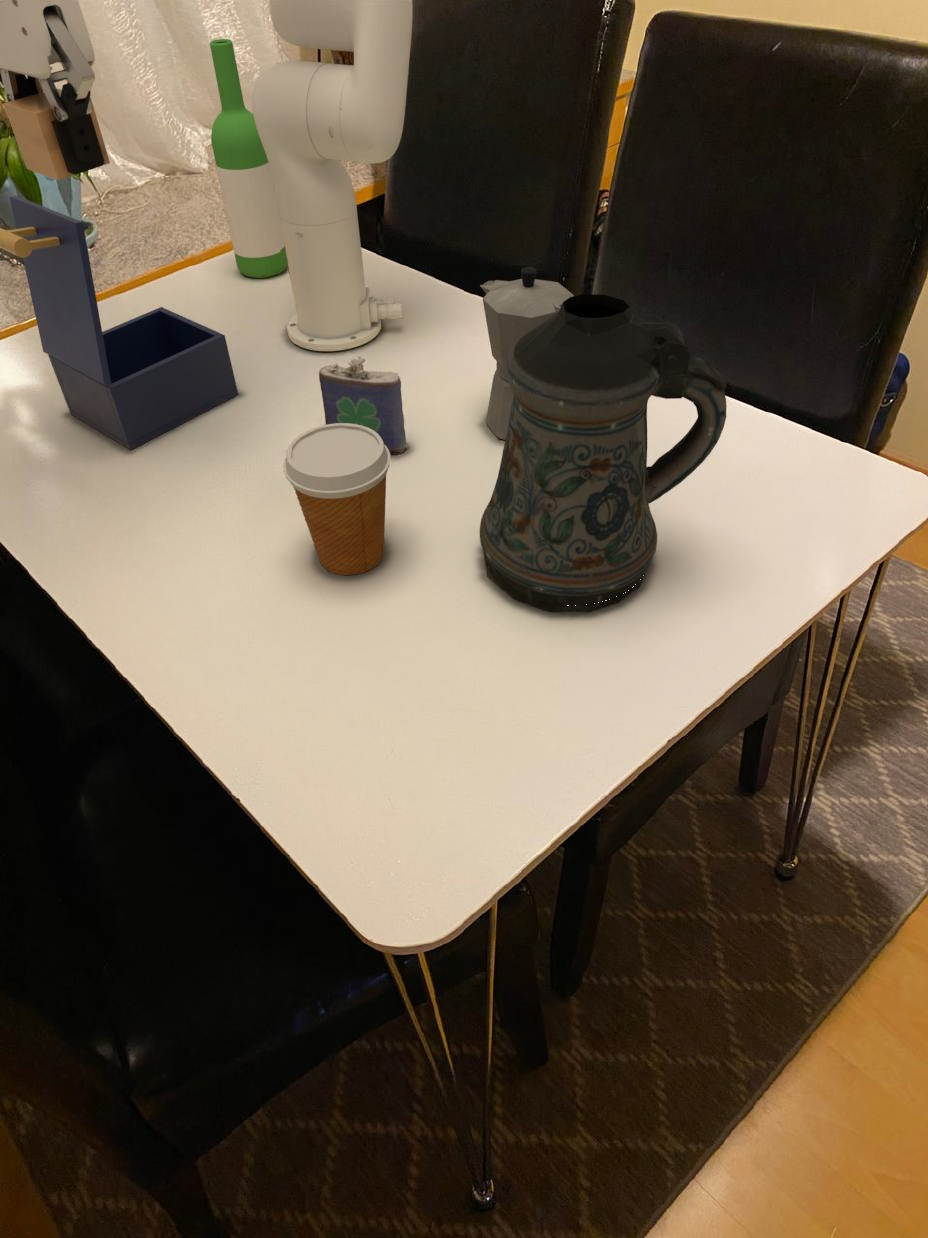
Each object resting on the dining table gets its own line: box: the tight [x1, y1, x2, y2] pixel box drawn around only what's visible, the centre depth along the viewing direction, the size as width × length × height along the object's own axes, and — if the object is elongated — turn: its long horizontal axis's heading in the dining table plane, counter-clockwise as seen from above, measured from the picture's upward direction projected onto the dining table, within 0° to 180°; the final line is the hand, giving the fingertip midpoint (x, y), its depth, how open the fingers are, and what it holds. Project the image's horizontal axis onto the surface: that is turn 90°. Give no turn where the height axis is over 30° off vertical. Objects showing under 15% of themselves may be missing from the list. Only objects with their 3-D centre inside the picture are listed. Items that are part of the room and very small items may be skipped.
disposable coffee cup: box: [282, 423, 392, 576], centre depth 83 cm, size 10×10×12 cm
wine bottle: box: [209, 38, 288, 279], centre depth 127 cm, size 8×8×30 cm
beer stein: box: [479, 293, 728, 613], centre depth 77 cm, size 16×19×25 cm
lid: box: [0, 195, 111, 385], centre depth 93 cm, size 16×13×6 cm
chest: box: [47, 306, 239, 451], centre depth 106 cm, size 16×13×8 cm
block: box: [2, 88, 111, 181], centre depth 74 cm, size 5×5×5 cm
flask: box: [318, 355, 407, 456], centre depth 97 cm, size 9×3×11 cm, turn 74°
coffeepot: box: [479, 266, 575, 441], centre depth 96 cm, size 15×9×18 cm, turn 46°
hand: (67, 160), depth 76 cm, fingers closed on block, 5 cm apart
